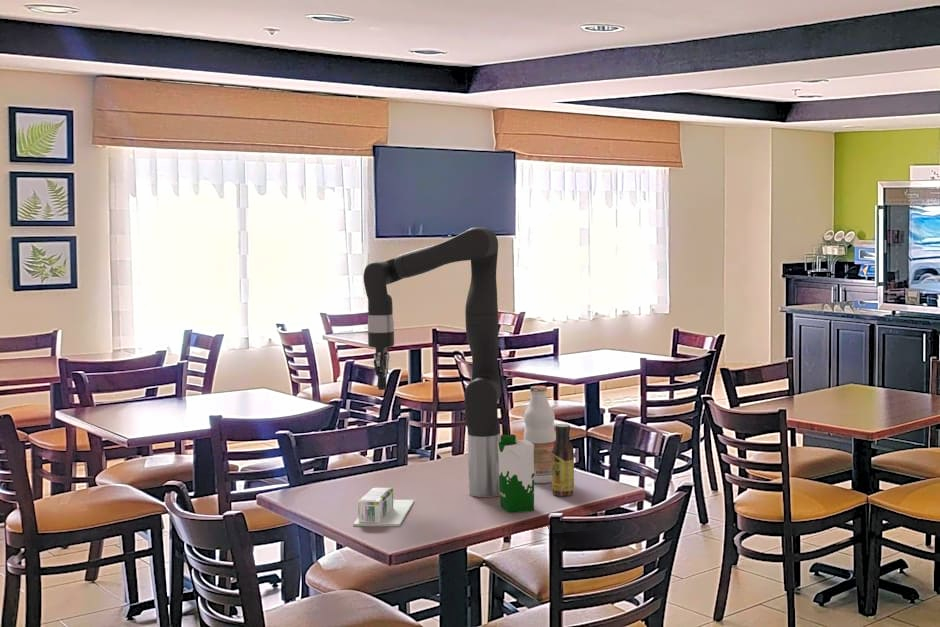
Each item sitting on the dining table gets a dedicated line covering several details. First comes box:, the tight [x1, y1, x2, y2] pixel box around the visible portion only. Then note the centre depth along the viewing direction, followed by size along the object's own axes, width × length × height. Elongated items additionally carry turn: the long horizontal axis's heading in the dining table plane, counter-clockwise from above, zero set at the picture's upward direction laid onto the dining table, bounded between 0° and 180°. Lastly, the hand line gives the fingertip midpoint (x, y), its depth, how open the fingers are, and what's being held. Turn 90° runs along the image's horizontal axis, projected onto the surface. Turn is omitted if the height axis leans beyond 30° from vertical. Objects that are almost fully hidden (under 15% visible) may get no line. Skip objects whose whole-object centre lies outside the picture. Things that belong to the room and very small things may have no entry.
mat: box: [352, 499, 415, 527], centre depth 281 cm, size 12×24×1 cm, turn 174°
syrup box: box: [357, 487, 395, 523], centre depth 277 cm, size 6×6×14 cm
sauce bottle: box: [551, 423, 575, 497], centre depth 295 cm, size 7×6×20 cm
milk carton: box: [497, 433, 535, 514], centre depth 282 cm, size 9×9×20 cm
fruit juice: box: [523, 385, 556, 484], centre depth 313 cm, size 9×9×28 cm
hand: (382, 389), depth 307 cm, fingers closed
